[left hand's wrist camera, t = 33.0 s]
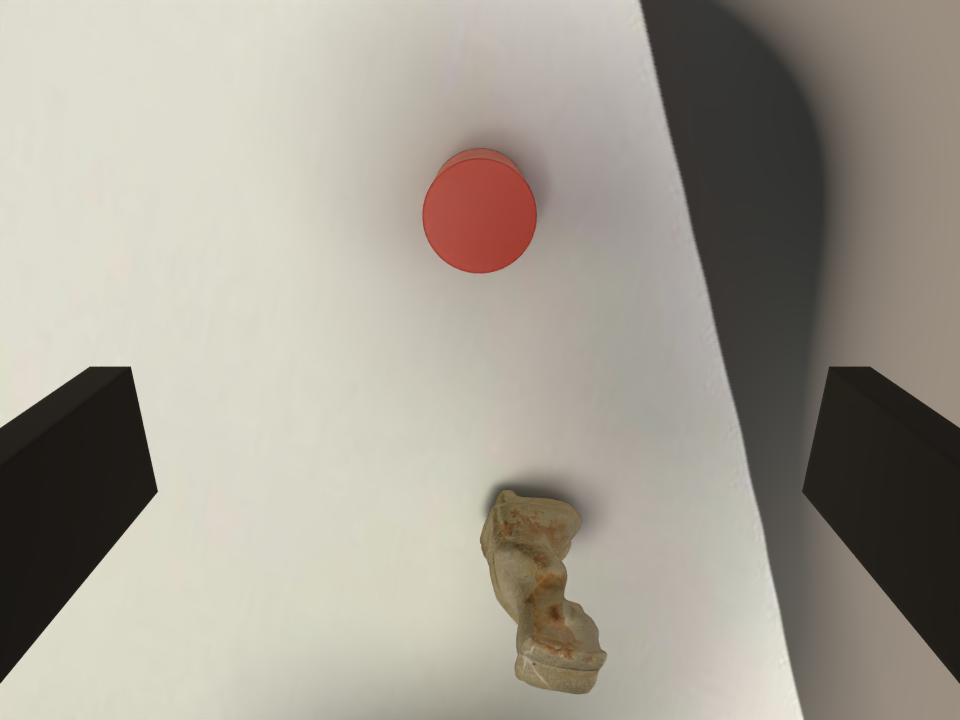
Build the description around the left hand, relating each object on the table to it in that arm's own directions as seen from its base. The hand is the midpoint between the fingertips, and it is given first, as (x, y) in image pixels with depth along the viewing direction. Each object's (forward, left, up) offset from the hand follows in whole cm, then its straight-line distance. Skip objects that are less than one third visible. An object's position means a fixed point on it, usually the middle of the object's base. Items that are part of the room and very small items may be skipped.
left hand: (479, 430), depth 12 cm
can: (0, 0, -31) cm, 31 cm away
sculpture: (-24, +5, -31) cm, 40 cm away
